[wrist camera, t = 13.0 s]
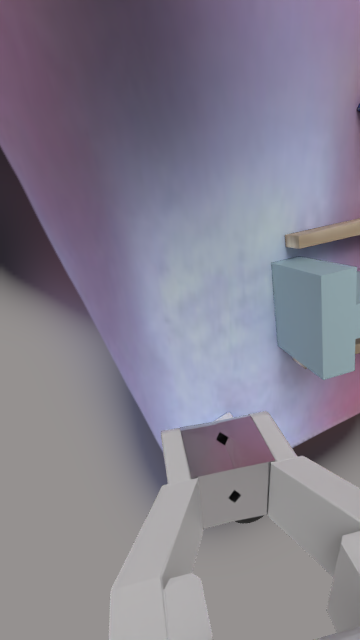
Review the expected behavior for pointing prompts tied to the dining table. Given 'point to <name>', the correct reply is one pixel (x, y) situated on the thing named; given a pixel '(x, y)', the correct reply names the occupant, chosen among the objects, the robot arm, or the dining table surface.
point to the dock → (324, 236)
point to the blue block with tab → (317, 313)
